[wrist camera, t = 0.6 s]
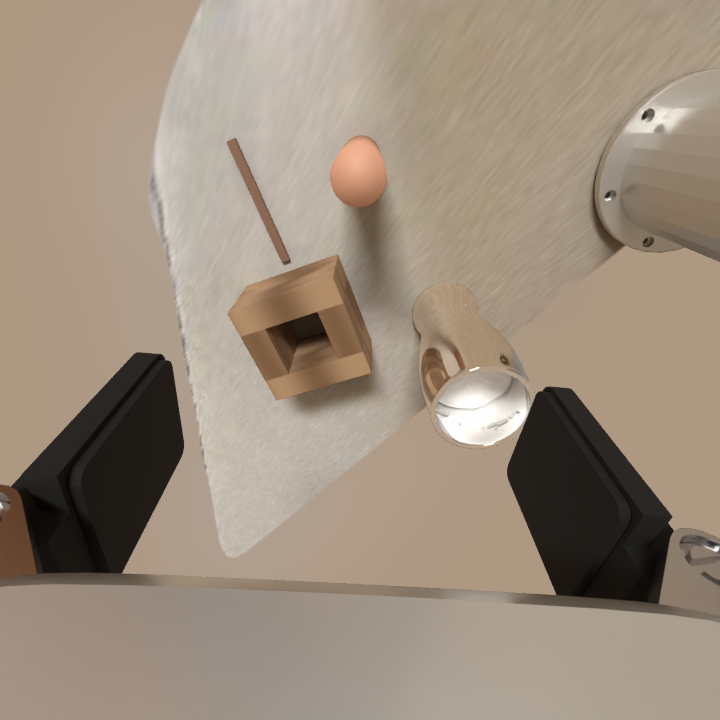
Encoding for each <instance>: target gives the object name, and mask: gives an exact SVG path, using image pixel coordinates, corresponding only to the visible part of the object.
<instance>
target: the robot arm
mask: <svg viewBox="0 0 720 720" xmlns="http://www.w3.org/2000/svg"><path fill="white" fill-rule="evenodd" d="M643 113H644V117H643V118H642V114H643ZM607 192H608V195H607V196H606V197H605V195H606V193H607ZM595 205H596V209H597V213H598V216H599V218H600V220H601V222H602V224H603V227H604V228H605V229H606V230H607V231H608V232H609V234H610V235H611V236H612V237H614V238H615V239H616V240H618V241H619V242H621V243H622V244H625V245H627V246H629V247H631V248H633V249H637V250H640V251H644V252H666V251H674V250H678V249H681V248H684V247H686V248H688V249H690V250H693V251H695V252H698V253H700V254H703V255H705V256H707V257H710V258H712V259H714V260H717V261H719V262H720V69H717V70H707V71H701V72H696V73H691V74H689V75H686V76H683V77H681V78H678V79H675V80H673V81H671V82H669V83H668V84H666V85H664V86H662V87H661V88H659V89H657V90H656V91H654V92H653V93H652V94H650V95H649V96H648V97H647V98H645V99H644V100H643V101H642V102H640V103H639V104H638V105H637V106H636V107H635V108H634V109H633V110H632V111H631V112H630V114H629V115H628V116H627V117H626V118H625V119H624V120H623V122H622V123H621V124H620V126H619V127H618V128H617V130H616V131H615V133H614V134H613V135H612V137H611V139H610V141H609V143H608V145H607V147H606V149H605V151H604V152H603V155H602V158H601V161H600V164H599V167H598V170H597V175H596V181H595ZM183 450H184V440H183V433H182V426H181V420H180V414H179V407H178V400H177V394H176V387H175V381H174V374H173V367H172V364H171V362H170V361H166V360H165V358H164V356H163V355H161V354H152V353H135V354H134V355H133V356H132V357H131V358H130V359H129V360H128V361H127V362H126V363H125V364H124V366H123V367H122V368H121V369H120V370H119V371H118V372H117V373H116V374H115V375H114V376H113V378H111V379H110V381H109V382H108V383H107V384H106V385H105V386H104V387H103V388H102V389H101V390H100V391H99V392H98V394H96V396H95V397H94V398H93V399H92V400H91V401H90V402H89V403H88V404H87V405H86V406H85V407H84V408H83V409H82V410H81V412H80V413H79V414H78V415H77V416H76V417H75V418H74V419H73V420H72V421H71V422H70V423H69V425H67V427H66V428H65V429H64V430H63V431H62V432H61V433H60V434H59V435H58V436H57V437H56V438H55V439H54V440H53V442H52V443H51V444H50V445H49V446H48V447H47V448H46V449H45V450H44V451H43V452H42V453H41V454H40V455H39V457H38V458H37V459H36V460H35V461H34V462H33V463H32V464H31V465H30V466H29V467H28V468H27V469H26V470H25V471H24V473H23V474H22V475H21V477H20V478H19V479H18V480H17V481H16V482H15V483H14V484H13V485H12V486H11V487H10V486H6V485H0V720H720V539H719V538H717V537H715V536H713V535H710V534H708V533H705V532H703V531H699V530H695V529H691V528H681V529H678V530H676V531H674V530H673V529H672V528H671V526H670V525H669V524H668V522H669V521H670V519H671V518H672V515H671V514H670V513H669V512H668V510H667V509H666V508H665V507H664V506H663V504H662V503H661V502H660V500H659V499H658V498H657V497H656V495H655V494H654V493H653V492H652V490H651V489H650V488H649V486H648V485H647V484H646V483H645V481H644V480H643V479H642V478H641V476H640V475H639V474H638V472H637V471H636V470H635V469H634V467H633V466H632V465H631V464H630V462H629V461H628V460H627V458H626V457H625V456H624V455H623V454H622V452H621V451H620V450H619V448H618V447H617V446H616V445H615V443H614V442H613V441H612V440H611V438H610V437H609V436H608V434H607V433H606V432H605V431H604V429H602V427H601V426H600V425H599V423H598V422H597V420H596V419H595V418H594V417H593V415H592V414H591V413H590V412H589V410H588V409H587V408H586V407H585V405H584V404H583V403H582V401H581V400H580V399H579V398H578V396H577V395H576V394H575V393H574V391H573V390H571V389H569V388H560V387H546V388H545V389H544V390H543V391H540V392H538V393H537V394H536V396H535V398H534V401H533V403H532V406H531V408H530V411H529V413H528V416H527V419H526V421H525V424H524V426H523V429H522V431H521V434H520V436H519V439H518V442H517V444H516V446H515V449H514V452H513V454H512V457H511V459H510V462H509V464H508V468H507V476H508V480H509V482H510V485H511V487H512V489H513V492H514V494H515V497H516V499H517V501H518V504H519V506H520V509H521V511H522V513H523V516H524V518H525V521H526V523H527V525H528V528H529V530H530V532H531V535H532V537H533V539H534V542H535V544H536V547H537V549H538V552H539V554H540V556H541V559H542V561H543V563H544V566H545V568H546V571H547V573H548V575H549V578H550V580H551V583H552V585H553V587H554V590H555V592H556V595H543V594H525V593H508V592H492V591H474V590H455V589H440V588H421V587H401V586H383V585H363V584H345V583H326V582H305V581H286V580H264V579H243V578H222V577H201V576H178V575H150V574H149V575H148V574H121V573H122V572H123V570H124V568H125V566H126V564H127V562H128V560H129V558H130V556H131V554H132V552H133V550H134V548H135V546H136V544H137V543H138V541H139V539H140V537H141V535H142V533H143V531H144V529H145V527H146V525H147V523H148V521H149V519H150V517H151V515H152V513H153V511H154V509H155V507H156V505H157V504H158V501H159V500H160V498H161V496H162V494H163V492H164V490H165V488H166V486H167V484H168V482H169V480H170V478H171V476H172V474H173V472H174V470H175V468H176V467H177V465H178V463H179V461H180V459H181V457H182V454H183Z"/></svg>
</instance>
